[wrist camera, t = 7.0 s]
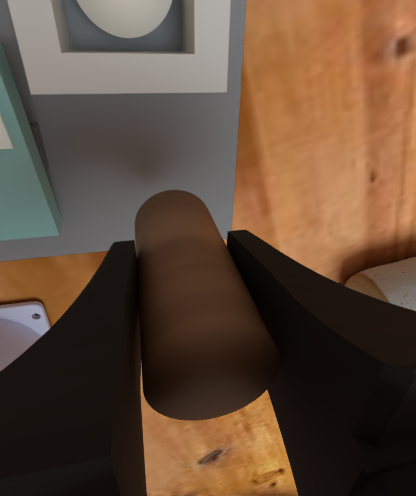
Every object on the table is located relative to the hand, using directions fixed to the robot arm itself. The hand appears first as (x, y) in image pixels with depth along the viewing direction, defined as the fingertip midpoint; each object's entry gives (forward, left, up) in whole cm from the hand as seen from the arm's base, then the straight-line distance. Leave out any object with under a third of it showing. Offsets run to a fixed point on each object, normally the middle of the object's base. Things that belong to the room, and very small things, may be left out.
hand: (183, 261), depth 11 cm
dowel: (0, 0, -2) cm, 2 cm away
